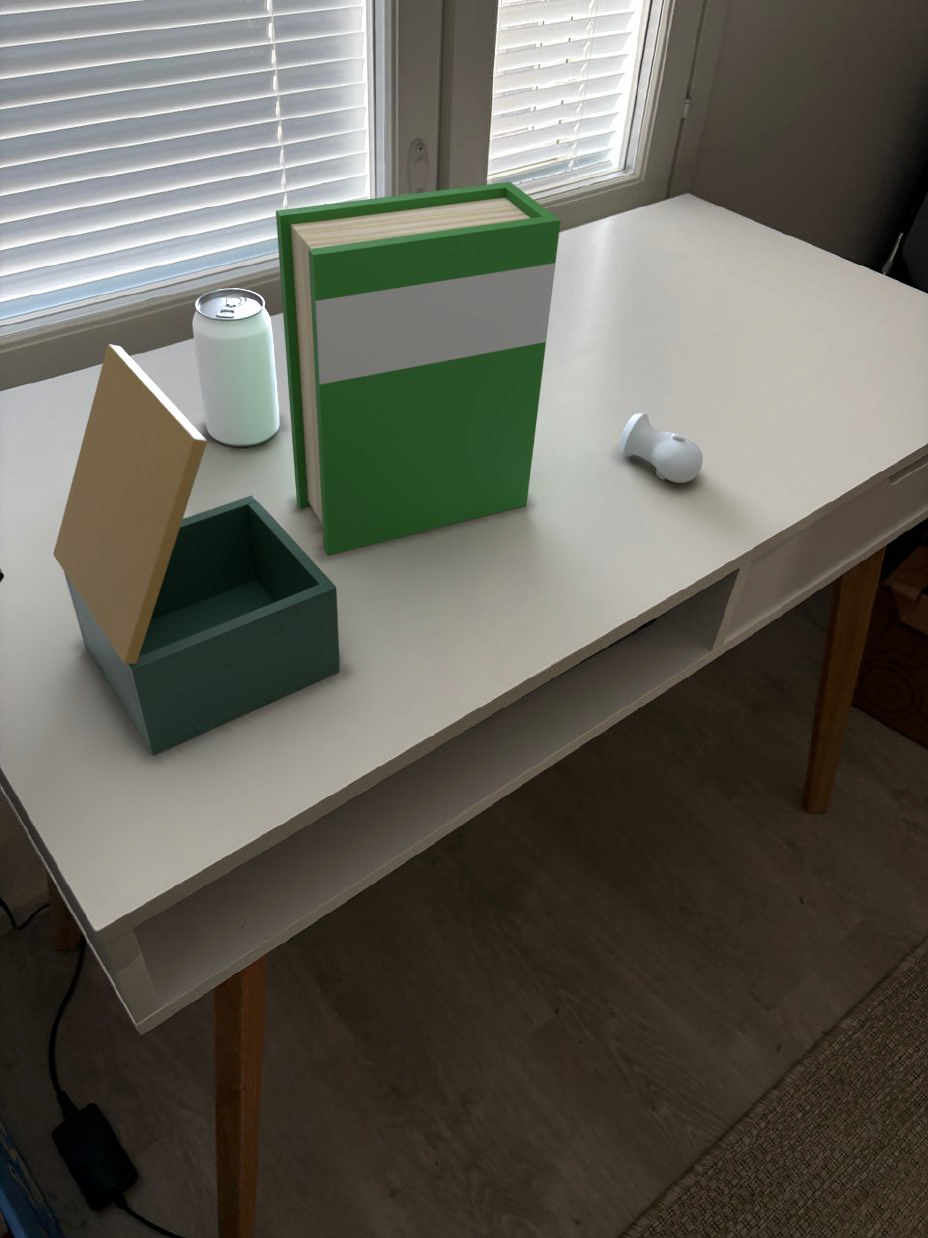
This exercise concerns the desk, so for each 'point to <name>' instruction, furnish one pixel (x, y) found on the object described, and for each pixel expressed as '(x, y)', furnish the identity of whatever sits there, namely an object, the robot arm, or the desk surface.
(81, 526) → the lid
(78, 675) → the desk surface
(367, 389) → the hardback book
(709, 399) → the desk surface
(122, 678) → the dark green open box
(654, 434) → the smooth white sculpture
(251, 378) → the can
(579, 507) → the desk surface
